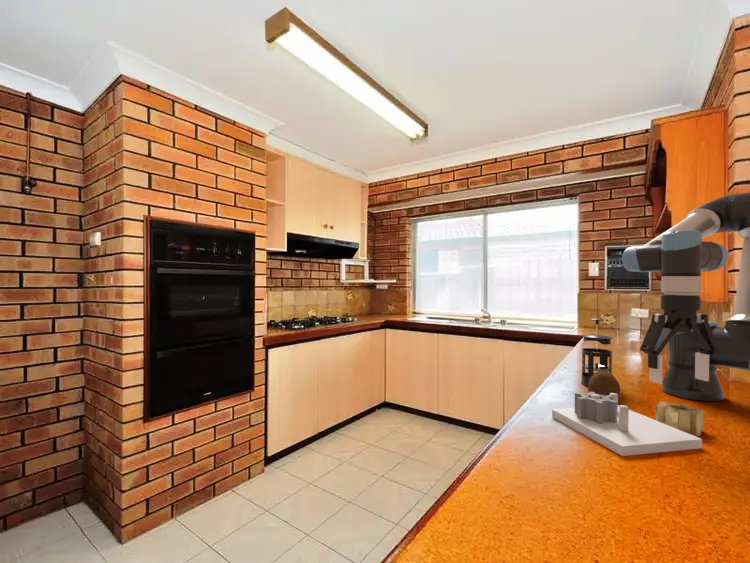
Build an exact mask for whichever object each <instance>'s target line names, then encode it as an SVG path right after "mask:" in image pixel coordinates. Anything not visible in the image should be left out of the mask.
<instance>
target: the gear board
mask: <svg viewBox="0 0 750 563" xmlns="http://www.w3.org/2000/svg"><path fill="white" fill-rule="evenodd" d="M551 417H552V418H553V419H555V420H557V421H559V422H561V423H562V424H564V425H566V426H567V427H570V428H571V429H572V430H575V431H577V432H578V433H580V434H582V435H584V436H585V437H587V438H588V439H590V440H593V441H594V442H597V443H598V444H600V445H602V446H604V447H605V448H608V449H609V450H610V451H612V452H615V453H616V454H618V455H620V456H622V457H626V456H635V455H636V456H639V455H645V454H656V453H668V452H676V451H677V452H678V451H687V450H688V451H690V450H697V449H699V450H700V449H703V438H700V437H699V436H695V435H693V434H690V433H686V432H683V431H681V430H678V429H676V428H673V427H671V426H668V425H666V424H663V423H661V422H658V421H656V419H653V418H650V417H649V416H645V415H644V414H641V413H638V412H637V411H636V412H635V411H634V410H631V409H630V408H629V406H627V405H623V404H620V405H619V396H618V394H616V393H610V395H607V396H603V395H599V394H595V393H594V392H586V393H581V392H578V391H576V392H575V393H574V407H569V408H554V409H552V410H551Z"/></svg>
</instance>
